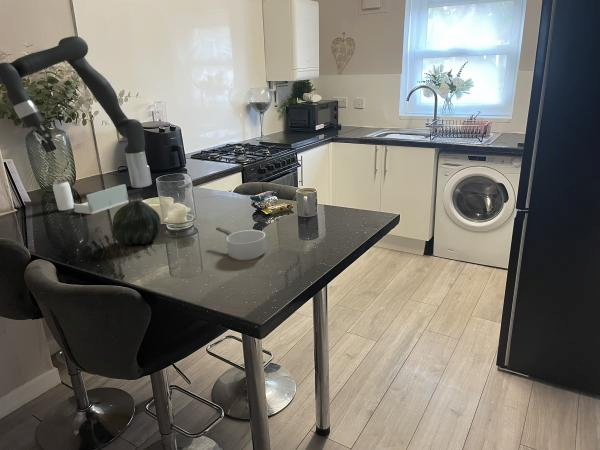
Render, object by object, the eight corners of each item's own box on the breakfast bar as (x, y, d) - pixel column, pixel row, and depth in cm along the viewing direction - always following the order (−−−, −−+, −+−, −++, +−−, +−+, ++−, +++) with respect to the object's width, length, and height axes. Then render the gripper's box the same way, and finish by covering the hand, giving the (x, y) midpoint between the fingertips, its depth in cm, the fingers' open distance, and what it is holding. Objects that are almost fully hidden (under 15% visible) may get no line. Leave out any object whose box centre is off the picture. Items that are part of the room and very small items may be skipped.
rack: (112, 200, 206) (108, 183, 204) (128, 201, 201) (125, 184, 199) (74, 212, 191) (70, 193, 188) (91, 214, 185) (87, 195, 183)
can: (70, 210, 194) (63, 183, 190) (55, 211, 194) (48, 184, 190) (77, 206, 200) (71, 179, 196) (63, 207, 200) (56, 180, 197)
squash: (112, 221, 153) (106, 195, 141) (158, 216, 158) (156, 190, 146) (116, 258, 147) (110, 234, 134) (164, 251, 152) (163, 227, 139)
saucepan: (234, 239, 145) (232, 222, 143) (275, 253, 131) (274, 234, 129) (203, 250, 138) (201, 232, 136) (244, 266, 124) (241, 246, 122)
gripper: (42, 107, 179) (64, 145, 185) (34, 113, 190) (56, 148, 196) (23, 115, 175) (47, 153, 181) (16, 120, 186) (38, 156, 192)
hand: (51, 151), depth 188 cm, fingers open, 8 cm apart
